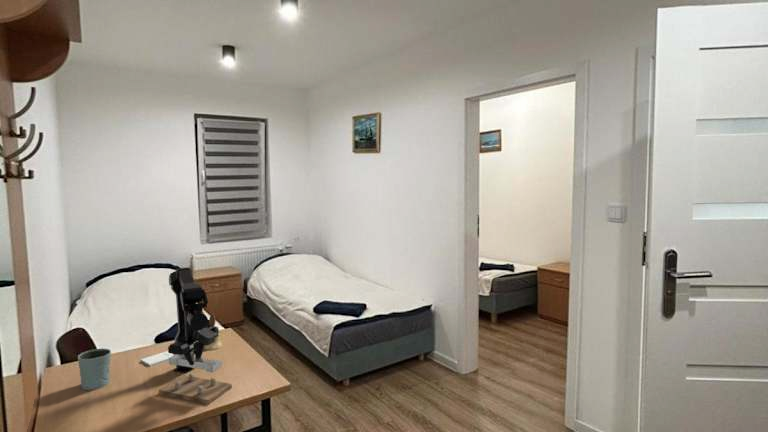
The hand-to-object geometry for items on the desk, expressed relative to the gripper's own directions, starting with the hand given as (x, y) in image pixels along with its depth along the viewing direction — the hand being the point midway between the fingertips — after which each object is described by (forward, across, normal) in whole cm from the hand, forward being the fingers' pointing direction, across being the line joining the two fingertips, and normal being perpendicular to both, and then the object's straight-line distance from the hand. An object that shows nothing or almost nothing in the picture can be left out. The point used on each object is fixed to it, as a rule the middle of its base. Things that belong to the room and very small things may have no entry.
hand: (195, 363), depth 152 cm
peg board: (+10, 0, 0) cm, 11 cm away
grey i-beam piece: (+1, 0, 0) cm, 1 cm away
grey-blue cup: (+11, -8, +39) cm, 41 cm away
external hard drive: (+11, +17, +34) cm, 40 cm away
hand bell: (+11, +35, +22) cm, 43 cm away
